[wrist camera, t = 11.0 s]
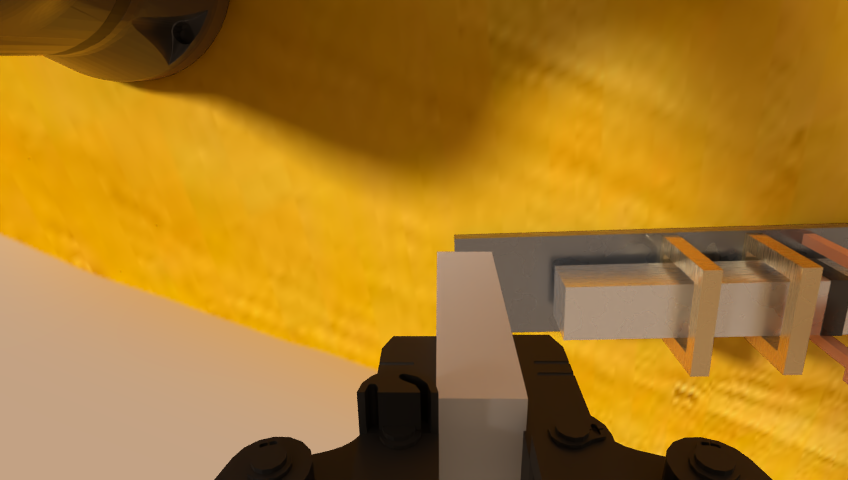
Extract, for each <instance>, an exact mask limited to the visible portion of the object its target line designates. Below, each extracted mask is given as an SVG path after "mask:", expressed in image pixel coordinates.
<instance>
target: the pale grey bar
mask: <svg viewBox="0 0 848 480" xmlns="http://www.w3.org/2000/svg"><path fill="white" fill-rule="evenodd" d="M808 259H809V260H811V261H813V262H815V263H817V264H818V265H820V266H822V267H823V272H822V277H821V282H820V287H819V292H818V297H817V302H816V307H815V312H814V317H813V322H812V327H811V332H810V335H820V336H842V335H845V334H848V269H847V268H845V267H843V266H842V265H840V264H838V263H836V262H834V261H832V260H830V259H829V258H826V259H816V258H808ZM714 263H715V264H716V265H718V266H719V267H720V268H721V269H723V277H722V284H721V291H720V298H719V306H718V313H717V320H716V327H715V334H714V337H744V336H780V334H781V329H782V324H783V318H784V313H785V307H786V302H787V296H788V291H789V285H790V279H789V278H787V277H786V276H784V275H783V274H781V273H780V272H778V271H777V270H775V269H774V268H772V267H771V266H769V265H767V264H766V263H764V262H763V261H761V260H752V261H715V262H714ZM694 283H695V282H694V281H693V280H692V279H691V278H690V277H689V276H688V275H686V274H685V273H684V272H683V271H682V270H681V269H680V268H679V267H678V266H677V265H676V264H675V263H640V264H603V265H566V266H555V276H554V306H553V315H554V318H555V320H556V322H557V325H558V327H559V330H560V332H561V335H562V337H563V340H593V339H643V338H688V332H689V324H690V316H691V308H692V300H693V291H694Z"/></svg>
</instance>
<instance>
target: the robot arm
mask: <svg viewBox="0 0 848 480" xmlns="http://www.w3.org/2000/svg"><path fill="white" fill-rule="evenodd" d="M228 4H229V0H0V56H28V55H43V56H45V57H47V58H49V59H51V60H53V61H56V62H58V63H60V64H62V65H64V66H66V67H68V68H70V69H73V70H75V71H77V72H79V73H82V74H85V75H88V76H91V77H94V78H99V79H103V80H109V81H118V82H134V81H145V80H154V79H159V78H163V77H167V76H169V75H172V74H175V73H177V72H179V71H181V70H183V69H184V68H186V67H188V66H189V65H191V64H192V63H193V62H195V61H196V60H197V59H198V58H199V57H200V56H201V55H202V54H203V53H204V52H205V51H206V50H207V49H208V48H209V46H210V45H211V43H212V42H213V41H214V39H215V37H216V36H217V34H218V32H219V30H220V28H221V26H222V23H223V21H224V18H225V15H226V12H227V8H228ZM357 401H358V416H359V431H360V435H359V436H358V437H357V438H356V439H355V440H353V441H352V442H350V443H349V444H346V445H344V446H343V447H339V448H336V449H334V450H330V451H326V452H322V453H317V454H313V455H311V450H310V449H309V448H308V447H307V446H306V445H305V444H304V443H303V442H301V441H299V440H296V439H293V438H291V437H272V438H268V439H263V440H259V441H257V442H255V443H253V444H251V445H248V446H247V447H244V448H243V449H242V450H241V451H240V452H239V453H238V454H237V455H235V456H234V457H233V458H232V459H231V460H230V462H229V463H228V464H227V465H226V466H225V468H224V469H223V470H222V471H221V472H220V474H219V475H218V476H217V477H216V478H215V480H772V479H771V478H770V477H769V476H768V475H767V474H766V473H765V472H764V471H762V470H761V469H760V468H759V467H758V466H757V465H756V464H755V463H754V462H753V461H752V460H751V459H749V458H748V457H746V456H745V455H744V454H742V453H741V452H740V451H738V450H737V449H735V448H733V447H731V446H728V445H726V444H724V443H721V442H719V441H715V440H711V439H706V438H702V437H693V438H683V439H680V440H678V441H675V442H673V443H672V444H671V446H670V447H669V448H668V449H667V452H666V457H664V456H660V455H655V454H651V453H647V452H643V451H638V450H635V449H632V448H629V447H625V446H623V445H621V444H619V443H617V442H615V441H614V438H613V436H612V434H611V433H610V431H609V430H608V429H607V427H606V426H605V425H604V424H603V423H601V422H600V421H598V420H597V419H596V418H594V417H593V416H591V415H590V413H589V410H588V408H587V406H586V403H585V401H584V398H583V396H582V393H581V391H580V388H579V386H578V383H577V381H576V378H575V376H573V371H572V368H571V366H570V364H569V361H568V358H567V356H566V353H565V351H564V348H563V347H562V346H561V345H560V344H559V343H558V342H557V341H555V340H554V339H553V338H552V337H551V336H550V335H512V332H511V328H510V324H509V319H508V315H507V311H506V307H505V303H504V299H503V295H502V291H501V287H500V283H499V279H498V275H497V271H496V267H495V263H494V259H493V255H492V252H437V336H393V337H392V338H391V339H390V341H389V342H388V343H387V344H386V345H385V346H384V347H383V348H382V352H381V357H380V365H379V368H378V374H375V375H373V376H371V377H370V378H369V379H367V380H366V381H364V382H363V383H362V384H361V386H360V388H359V390H358V391H357Z"/></svg>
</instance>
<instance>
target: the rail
mask: <svg viewBox="0 0 848 480" xmlns="http://www.w3.org/2000/svg"><path fill="white" fill-rule="evenodd" d="M814 233H815V234H817V235H819V236H821V237H823V238H825V239H827V240H829V241H831V242H833V243H835V244H837V245H839V246H841V247H844V248H846V249H848V223H832V224H799V225H766V226H733V227H699V228H666V229H633V230H600V231H567V232H533V233H500V234H467V235H454V238H455V252H492V255H493V259H494V263H495V267H496V271H497V275H498V279H499V283H500V287H501V291H502V295H503V299H504V303H505V307H506V311H507V315H508V319H509V324H510V328H511V332H546V331H560V330H559V327H558V325H557V322H556V320H555V318H554V315H553V306H554V276H555V266H566V265H603V264H640V263H675V264H676V265H677V266H678V267H679V268H680V269H681V270H682V271H683V272H684V273H685V274H686V275H688V276H689V277H690V278H691V279H692V280H693V281H694V282H695V283H694V291H693V300H692V308H691V316H690V324H689V332H688V338H662V340H663V341H664V342H665V344H666V345H667V346H668V348H669V349H670V350H671V352H672V353H673V354H674V356H675V357H676V358H677V360H678V361H679V362H680V363H681V365H682V366H683V367H684V369H685V370H686V371H687V373H688V374H689V375H690V376H709V370H710V363H711V356H712V349H713V342H714V334H715V327H716V320H717V313H718V306H719V298H720V291H721V284H722V277H723V269H721V268H720V267H719V266H718V265H716V264H715V263H714V262H715V261H752V260H761V261H763V262H764V263H766V264H767V265H769V266H771V267H772V268H774V269H775V270H777V271H778V272H780V273H781V274H783V275H784V276H786V277H787V278H789V279H790V285H789V291H788V296H787V302H786V307H785V313H784V318H783V324H782V329H781V334H780V337H779V336H744V338H745V339H746V340H747V341H748V342H749V343H750V344H751V345H752V346H753V347H754V348H756V349H757V350H758V351H759V352H760V353H761V354H762V355H763V356H764V357H765V358H766V359H767V360H768V361H769V362H770V363H771V364H772V365H773V366H774V367H775V368H776V369H777V370H779V371H780V372H781V373H782V374H783V375H802V372H803V367H804V362H805V357H806V352H807V347H808V342H809V337H810V332H811V327H812V322H813V317H814V312H815V307H816V302H817V297H818V292H819V287H820V282H821V277H822V272H823V267H822V266H820V265H818V264H817V263H815V262H813V261H811V260H809V259H808V258H816V259H826V258H827V257H825V256H823V255H821V254H819V253H817V252H815V251H814V250H812V249H810V248H808V247H806V246H804V245H802V240H803V234H814Z"/></svg>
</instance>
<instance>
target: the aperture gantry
mask: <svg viewBox="0 0 848 480" xmlns="http://www.w3.org/2000/svg"><path fill="white" fill-rule="evenodd" d="M802 245H804V246H806V247H808V248H810V249H812V250H814V251H815V252H817V253H819V254H821V255H823V256H825V257H827V258H829V259H830V260H832V261H834V262H836V263H838V264H840V265H842V266H843V267H845V268H847V269H848V249H846V248H844V247H841V246H839V245H837V244H835V243H833V242H831V241H829V240H827V239H825V238H823V237H821V236H819V235H817V234H815V233H814V234H803V240H802ZM809 339H810V340H811V341H812V342H813V343H815V344H816V345H817V346H818V347H820V348H821V349H822V350H824V351H825V352H826V353H827V354H829V355H830V356H831V357H832V358H834V359H835V360H836V361H837V362H839V363H840V364H841V365H843V366H844V367H845V372H844V377H843V381H844V382H846V383H847V384H848V347H846V346H845V345H844V344H842V343H841V342H839V341H838V340H837V339H835V338H834V337H833V336H820V335H810V337H809Z"/></svg>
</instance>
